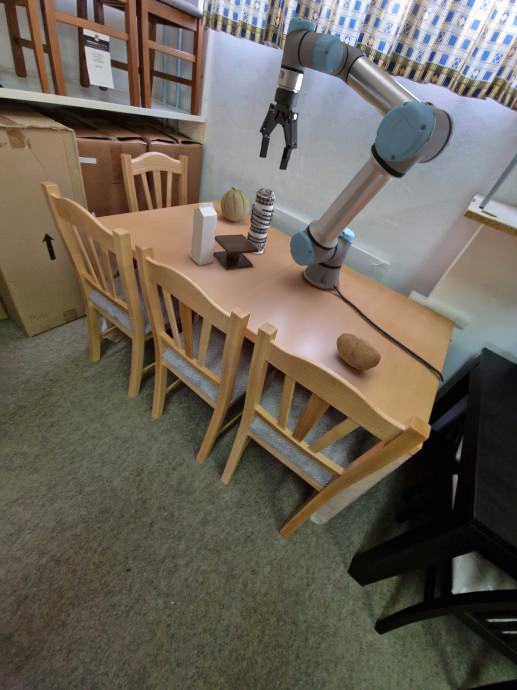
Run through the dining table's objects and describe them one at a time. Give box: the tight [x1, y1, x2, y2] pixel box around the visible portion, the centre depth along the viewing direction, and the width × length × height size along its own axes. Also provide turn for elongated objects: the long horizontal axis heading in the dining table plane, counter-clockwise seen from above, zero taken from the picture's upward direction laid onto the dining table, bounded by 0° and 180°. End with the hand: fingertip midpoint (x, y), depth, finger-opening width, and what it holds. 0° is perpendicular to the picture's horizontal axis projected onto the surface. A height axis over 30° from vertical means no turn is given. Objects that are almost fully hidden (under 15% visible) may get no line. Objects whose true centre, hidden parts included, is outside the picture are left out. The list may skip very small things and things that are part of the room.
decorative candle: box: [246, 188, 277, 255], centre depth 124 cm, size 9×9×25 cm
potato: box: [336, 332, 382, 372], centre depth 89 cm, size 10×14×8 cm
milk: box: [190, 201, 218, 266], centre depth 108 cm, size 6×6×22 cm
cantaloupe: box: [220, 186, 251, 223], centre depth 146 cm, size 15×15×15 cm
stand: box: [213, 233, 258, 271], centre depth 118 cm, size 13×13×8 cm
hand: (272, 163), depth 109 cm, fingers open, 13 cm apart
